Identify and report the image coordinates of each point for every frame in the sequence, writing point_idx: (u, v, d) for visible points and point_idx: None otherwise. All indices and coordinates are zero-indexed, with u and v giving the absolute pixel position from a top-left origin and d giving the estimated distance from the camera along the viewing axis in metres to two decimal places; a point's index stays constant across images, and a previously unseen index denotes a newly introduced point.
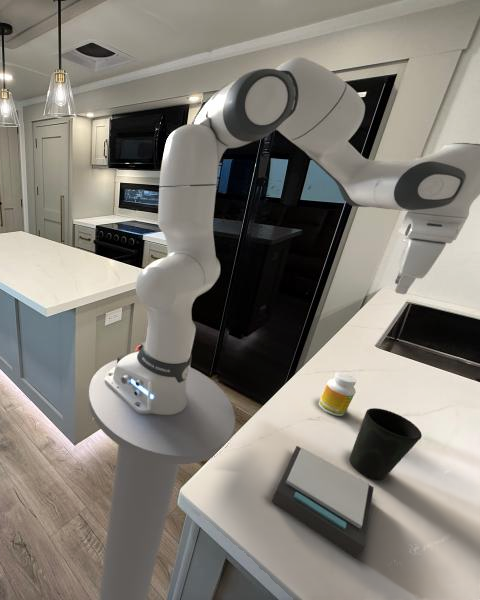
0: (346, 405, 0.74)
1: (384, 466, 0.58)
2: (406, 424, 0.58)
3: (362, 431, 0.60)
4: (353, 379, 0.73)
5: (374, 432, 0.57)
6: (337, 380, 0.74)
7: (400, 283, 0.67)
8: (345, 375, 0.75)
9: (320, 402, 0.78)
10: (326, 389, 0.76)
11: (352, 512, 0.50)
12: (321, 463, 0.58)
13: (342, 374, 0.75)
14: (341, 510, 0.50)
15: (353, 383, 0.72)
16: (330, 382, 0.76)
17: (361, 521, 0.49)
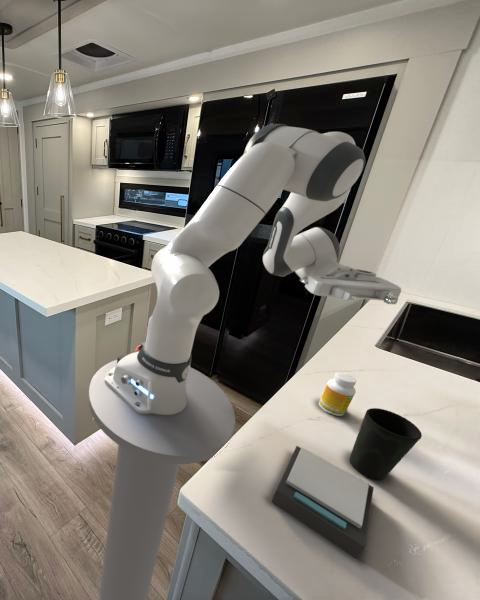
0: (346, 405, 0.74)
1: (384, 466, 0.58)
2: (406, 424, 0.58)
3: (362, 431, 0.60)
4: (353, 379, 0.73)
5: (374, 432, 0.57)
6: (337, 380, 0.74)
7: (392, 295, 0.75)
8: (345, 375, 0.75)
9: (320, 402, 0.78)
10: (326, 389, 0.76)
11: (352, 512, 0.50)
12: (321, 463, 0.58)
13: (342, 374, 0.75)
14: (341, 510, 0.50)
15: (353, 383, 0.72)
16: (330, 382, 0.76)
17: (361, 521, 0.49)
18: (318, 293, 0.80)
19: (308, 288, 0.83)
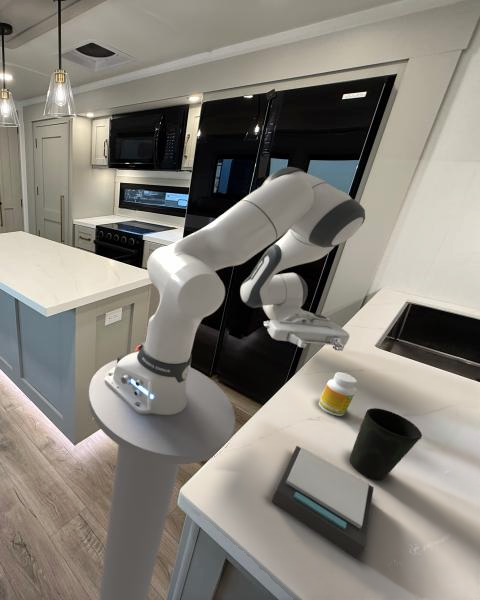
0: (346, 405, 0.74)
1: (384, 466, 0.58)
2: (406, 424, 0.58)
3: (362, 431, 0.60)
4: (353, 379, 0.73)
5: (374, 432, 0.57)
6: (337, 380, 0.74)
7: (340, 342, 0.85)
8: (345, 375, 0.75)
9: (320, 402, 0.78)
10: (326, 389, 0.76)
11: (352, 512, 0.50)
12: (321, 463, 0.58)
13: (342, 374, 0.75)
14: (341, 510, 0.50)
15: (353, 383, 0.72)
16: (330, 382, 0.76)
17: (361, 521, 0.49)
18: (276, 338, 0.89)
19: (269, 332, 0.93)
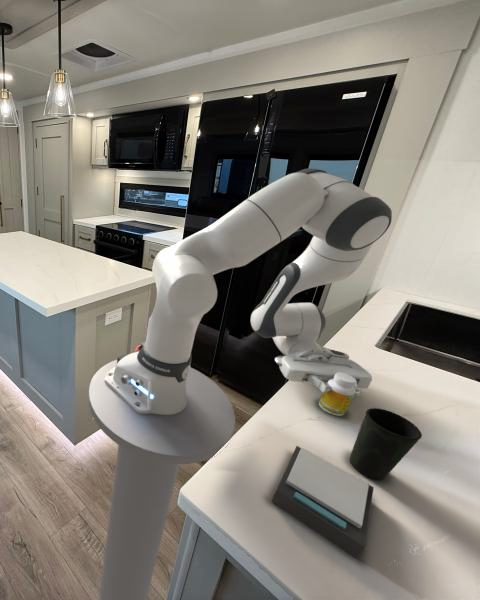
0: (346, 405, 0.74)
1: (384, 466, 0.58)
2: (406, 424, 0.58)
3: (362, 431, 0.60)
4: (353, 379, 0.73)
5: (374, 432, 0.57)
6: (337, 380, 0.74)
7: (356, 385, 0.76)
8: (345, 375, 0.75)
9: (320, 402, 0.78)
10: None
11: (352, 512, 0.50)
12: (321, 463, 0.58)
13: (342, 374, 0.75)
14: (341, 510, 0.50)
15: (353, 383, 0.72)
16: (330, 382, 0.76)
17: (361, 521, 0.49)
18: (290, 379, 0.80)
19: (282, 371, 0.83)
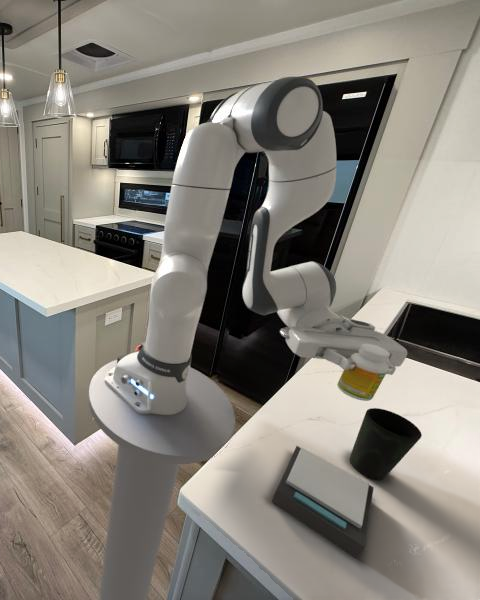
0: (375, 386, 0.56)
1: (384, 466, 0.58)
2: (406, 424, 0.58)
3: (362, 431, 0.60)
4: (385, 352, 0.55)
5: (374, 432, 0.57)
6: (364, 353, 0.56)
7: None
8: (374, 347, 0.56)
9: (339, 384, 0.60)
10: None
11: (352, 512, 0.50)
12: (321, 463, 0.58)
13: (370, 346, 0.57)
14: (341, 510, 0.50)
15: (386, 357, 0.54)
16: (354, 357, 0.57)
17: (361, 521, 0.49)
18: (300, 354, 0.62)
19: (289, 345, 0.65)
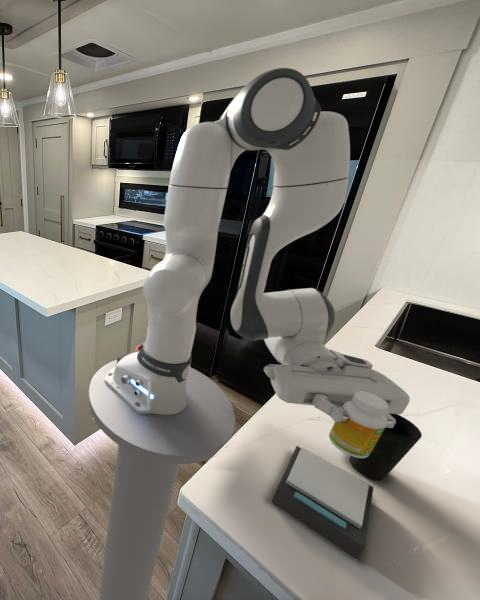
0: (372, 443, 0.48)
1: (384, 466, 0.58)
2: (406, 424, 0.58)
3: None
4: (383, 403, 0.47)
5: None
6: (358, 404, 0.48)
7: None
8: (370, 395, 0.48)
9: (331, 436, 0.52)
10: None
11: (352, 512, 0.50)
12: (321, 463, 0.58)
13: (365, 394, 0.49)
14: (341, 510, 0.50)
15: (384, 410, 0.46)
16: (347, 406, 0.49)
17: (361, 521, 0.49)
18: (286, 400, 0.54)
19: (274, 387, 0.57)
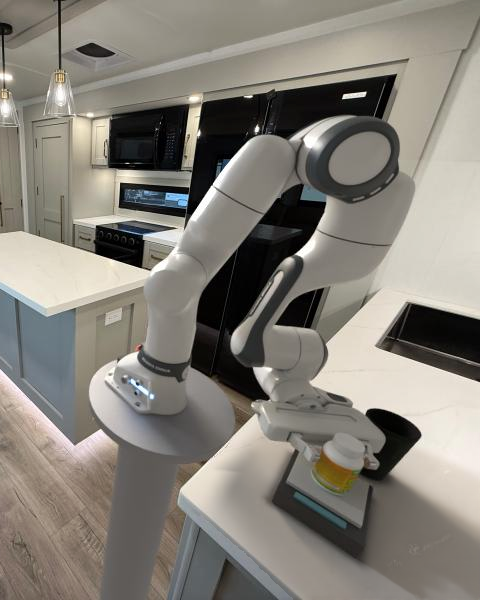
0: (350, 482, 0.51)
1: (384, 466, 0.58)
2: (406, 424, 0.58)
3: None
4: (361, 446, 0.50)
5: None
6: (337, 446, 0.51)
7: None
8: (349, 437, 0.52)
9: (313, 472, 0.55)
10: (321, 456, 0.53)
11: (352, 512, 0.50)
12: None
13: (344, 436, 0.52)
14: (341, 510, 0.50)
15: (361, 453, 0.49)
16: (327, 447, 0.53)
17: (361, 521, 0.49)
18: (270, 438, 0.57)
19: (260, 423, 0.60)
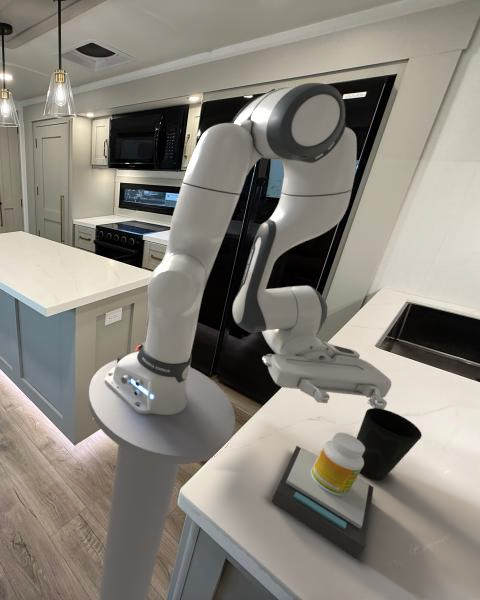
0: (350, 482, 0.51)
1: (384, 466, 0.58)
2: (406, 424, 0.58)
3: (362, 431, 0.60)
4: (360, 445, 0.50)
5: (374, 432, 0.57)
6: (337, 446, 0.51)
7: None
8: (349, 437, 0.52)
9: (313, 472, 0.55)
10: (321, 456, 0.53)
11: (352, 512, 0.50)
12: None
13: (344, 436, 0.52)
14: (341, 510, 0.50)
15: (361, 453, 0.49)
16: (327, 447, 0.53)
17: (361, 521, 0.49)
18: (282, 385, 0.60)
19: (271, 374, 0.63)
